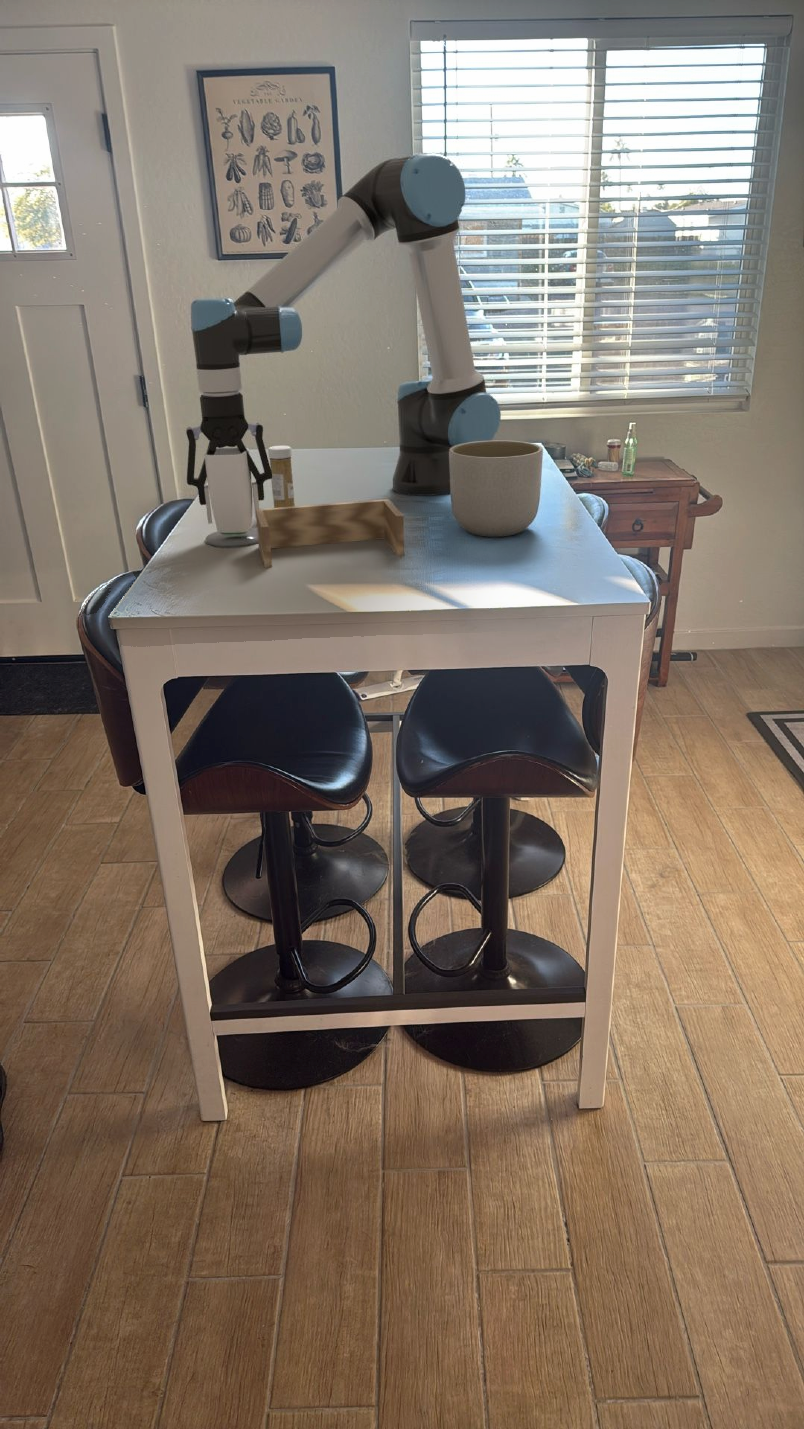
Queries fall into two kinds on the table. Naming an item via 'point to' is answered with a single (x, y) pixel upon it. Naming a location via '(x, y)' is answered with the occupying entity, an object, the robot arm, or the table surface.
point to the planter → (495, 486)
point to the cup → (230, 490)
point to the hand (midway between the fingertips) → (234, 519)
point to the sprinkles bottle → (281, 476)
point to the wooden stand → (329, 525)
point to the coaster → (232, 539)
